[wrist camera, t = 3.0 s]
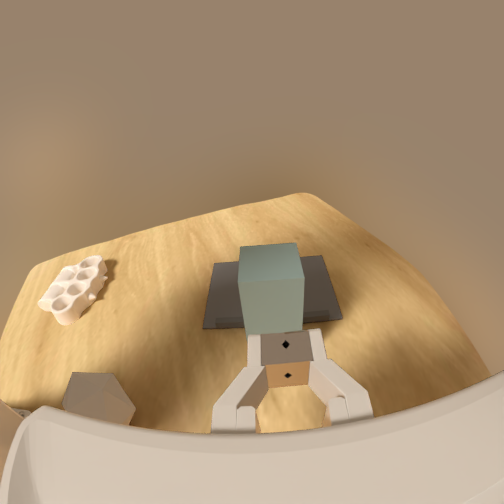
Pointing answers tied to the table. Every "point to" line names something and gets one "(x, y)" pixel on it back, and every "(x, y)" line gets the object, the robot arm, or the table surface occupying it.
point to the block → (271, 288)
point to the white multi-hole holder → (74, 289)
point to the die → (98, 398)
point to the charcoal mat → (229, 304)
